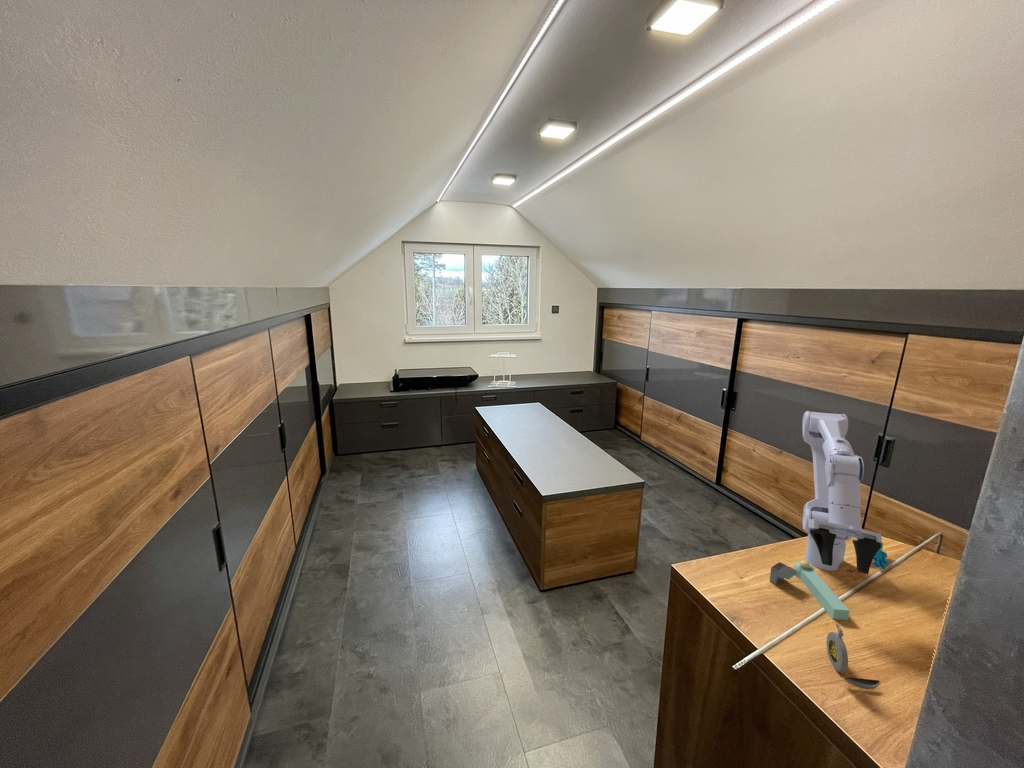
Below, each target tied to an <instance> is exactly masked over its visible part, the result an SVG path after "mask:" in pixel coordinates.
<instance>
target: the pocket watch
mask: <svg viewBox="0 0 1024 768" xmlns="http://www.w3.org/2000/svg"><path fill="white" fill-rule="evenodd" d="M835 626H836V629H837V632H836V631H830V632H828V634H827V636H826V652H827V656H828V659H829V661H830V663H831V666H832V667H833V669H834V670H835V671H836V672H838V673H841V674H845V673H846V672H847V671H848V667H849V656H848V651H847V647H846V644H845V642H844V640H843V638H842V637H844V632H843V630H842V628H841V626H840V624H839V623H838V622H837V623H836V624H835ZM843 678H844V679H845V680H846V681H848V682H849V683H851V684H853V685H856V686H857V687H860V688H863V689H876V688H878V687H879V685H880V683H881V681H880V680H877V679H868V678H860V677H850V676H843Z"/></svg>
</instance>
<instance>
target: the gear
mask: <svg viewBox="0 0 1024 768" xmlns="http://www.w3.org/2000/svg"><path fill="white" fill-rule="evenodd" d="M853 535H855V534H853ZM858 539H860V538H856V539H855V540H858ZM883 546H884V543H883V542H882V543H881V548H880V549H879V550H878V552H877V553H876V555H875V556H874V558H873V560H872V562H873V566H875V567H876V568H882V569H884V568H887V565H889V564H890V562H889V560H888V559H887V558H888V554H887V552H886V551H883V548H884V547H883Z"/></svg>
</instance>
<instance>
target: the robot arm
mask: <svg viewBox="0 0 1024 768" xmlns="http://www.w3.org/2000/svg"><path fill="white" fill-rule="evenodd" d="M848 430H849V418H848V415H846V414H845V413H841V414H839V413H831V412H830V413H829V412H828V413H827V412H817V411H809V410H806V411H805V412H804V413H803V415H802V438H803V442H805V443H806V444H808V445H809V446H810V450H811V454H812V464H813V465H812V466H813V469H812V470H813V483H814V499H812V500H810V501H807V502H805V504H804V506H803V511H802V512H803V513H802V529H803V530H804V532H805V533H807V540H806V547H805V556H804V559H805V561H807V562H809V565H811V566H812V567H814V568H815V567H816V568H817V569H821V570H823V571H831V572H832V571H837V570H838V569H839V567H840V565H841V564H842V563H843V562H844V560H845V552H846V547H847V543H846V541H850V540H851V539H852V538H856V539H857V538H860V539H858V540H856V539H852V540H851V541H852V545H853V546H854V551H855V556H856V559H855V560H856V561H855V562H856V570H857V573H860V574H864V575H865V574H866V575H868V574H869V572H870V568H871V565H872V562H873V561H874V559H873V558H874V556H875V555H876V553H877V552H878V550H879V549H880V548H881V543H883V541H882V533H878V532H874V531H870V530H868V529H864V528H863V527H862V526H861V525H862V521H861V520H862V519H861V518H862V517H861V515H862V514H861V513H862V512H861V482H862V480H863V479H864V475H865V474H864V472H865V465H864V459H863V458H862V456H858V455H855V453H854V450H853V447H852V445H851V443H850V442H849V441H848V440H847V439H846V436H847V433H848ZM854 534H855V535H854ZM872 560H873V561H872Z"/></svg>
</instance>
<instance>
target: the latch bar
mask: <svg viewBox="0 0 1024 768" xmlns="http://www.w3.org/2000/svg"><path fill="white" fill-rule="evenodd" d="M793 567H794V568H793V569H795V570H797V574H796V575H795V576H796V577H797V578H798V579H800V581H801V582H802V583H803V584H804V586H806V588H807V589H808V591H809V592H810V593H811V595H812V596H813V597H815V599H816V600H817V602H818V603H819V605H820V606H821V607H822V608H823V609H824V610H825V611H826V613H827V614H828V615H829V616H830V618H831V619H832V620H839V621H848V620H849V615H850V609H849V608H848V607H847V606H846V605H845V604H844V603H843V602H842V600H841V599H840V598H839V597H838V596H837V595H836V593H834V591H833V590H832V589H831V588H830V587H829V586H828V584H827V583H826V582H825V581H824V580H823V579H822V578H821V576H820V575H819V574H818V573H817V572H816V571H815V567H814V566H813V565H811V564H810V563H809V562H807V561H806V559H805V560H804V559H803V560H802V559H801V560H800V561H796V562H795V563H794V566H793Z"/></svg>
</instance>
